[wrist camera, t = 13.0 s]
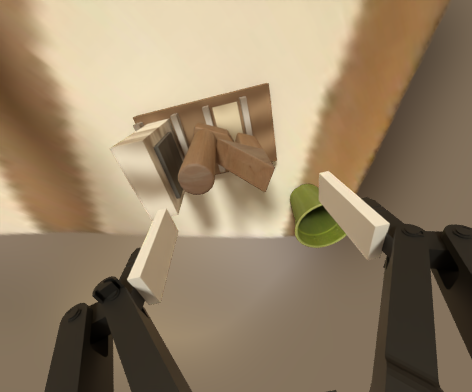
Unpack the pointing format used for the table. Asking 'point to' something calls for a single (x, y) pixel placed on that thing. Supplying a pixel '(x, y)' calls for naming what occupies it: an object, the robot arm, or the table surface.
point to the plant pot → (313, 219)
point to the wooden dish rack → (188, 142)
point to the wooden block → (223, 159)
